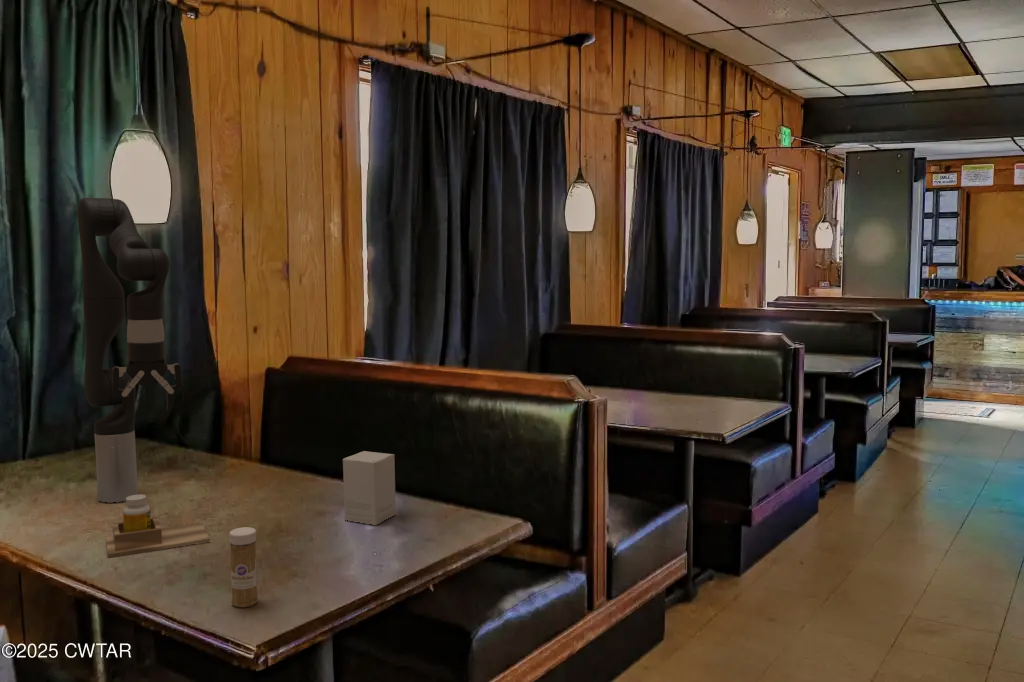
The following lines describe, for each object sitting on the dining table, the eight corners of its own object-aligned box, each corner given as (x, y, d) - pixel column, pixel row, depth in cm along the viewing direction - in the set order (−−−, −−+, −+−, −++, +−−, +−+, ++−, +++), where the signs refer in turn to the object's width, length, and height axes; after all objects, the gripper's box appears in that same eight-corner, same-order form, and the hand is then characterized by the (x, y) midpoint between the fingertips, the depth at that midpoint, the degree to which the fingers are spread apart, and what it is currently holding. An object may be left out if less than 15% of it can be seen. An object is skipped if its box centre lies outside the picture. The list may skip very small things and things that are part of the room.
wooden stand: (105, 540, 185) (104, 522, 185) (202, 526, 194) (201, 509, 194) (107, 557, 175) (106, 539, 174) (210, 542, 184) (209, 524, 183)
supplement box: (397, 515, 202) (396, 453, 201) (375, 526, 194) (374, 462, 193) (365, 510, 206) (364, 449, 204) (343, 521, 198) (341, 458, 196)
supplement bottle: (124, 538, 184) (121, 495, 183) (151, 534, 186) (148, 492, 185) (124, 546, 179) (122, 501, 178) (152, 542, 181) (150, 498, 180)
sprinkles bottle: (232, 610, 149) (229, 536, 148) (231, 600, 154) (228, 528, 152) (259, 606, 151) (257, 532, 150) (257, 596, 155) (255, 525, 154)
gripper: (178, 336, 194) (180, 405, 196) (109, 338, 188) (112, 410, 190) (181, 340, 188) (184, 412, 190) (110, 342, 181) (113, 417, 183)
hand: (148, 411), depth 190 cm, fingers open, 8 cm apart
